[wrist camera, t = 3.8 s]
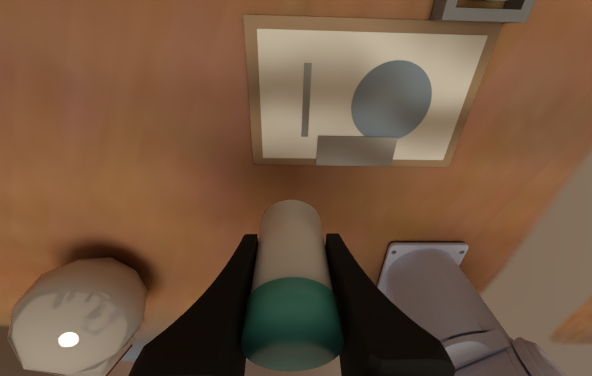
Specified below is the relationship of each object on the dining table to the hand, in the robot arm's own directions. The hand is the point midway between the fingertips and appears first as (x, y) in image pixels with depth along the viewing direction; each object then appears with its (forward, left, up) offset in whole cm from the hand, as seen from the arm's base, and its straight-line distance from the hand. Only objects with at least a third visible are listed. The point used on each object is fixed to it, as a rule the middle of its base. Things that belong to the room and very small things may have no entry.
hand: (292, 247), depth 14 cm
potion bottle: (-15, +19, -9) cm, 26 cm away
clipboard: (+6, -5, -9) cm, 12 cm away
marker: (0, 0, -2) cm, 2 cm away
